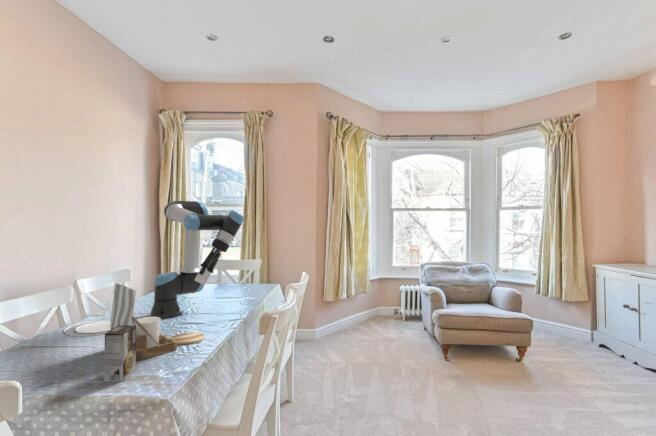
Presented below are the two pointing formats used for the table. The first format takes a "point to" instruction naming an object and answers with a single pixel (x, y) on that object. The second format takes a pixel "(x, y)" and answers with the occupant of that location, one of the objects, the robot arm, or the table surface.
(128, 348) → the coffee box
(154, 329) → the candle holder
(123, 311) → the cold frame
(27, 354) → the table surface
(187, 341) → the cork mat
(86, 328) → the plate
